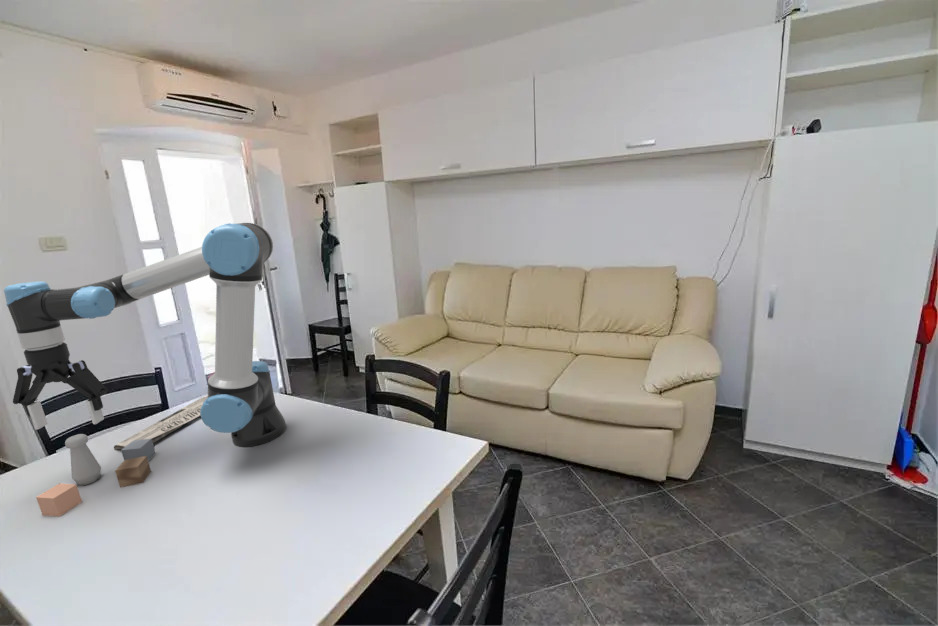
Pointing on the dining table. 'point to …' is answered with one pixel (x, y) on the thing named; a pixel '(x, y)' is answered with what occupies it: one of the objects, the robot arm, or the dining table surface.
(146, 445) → the slate cube
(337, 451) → the dining table surface
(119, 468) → the walnut cube
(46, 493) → the terracotta cube
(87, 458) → the salt shaker
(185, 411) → the newspaper
